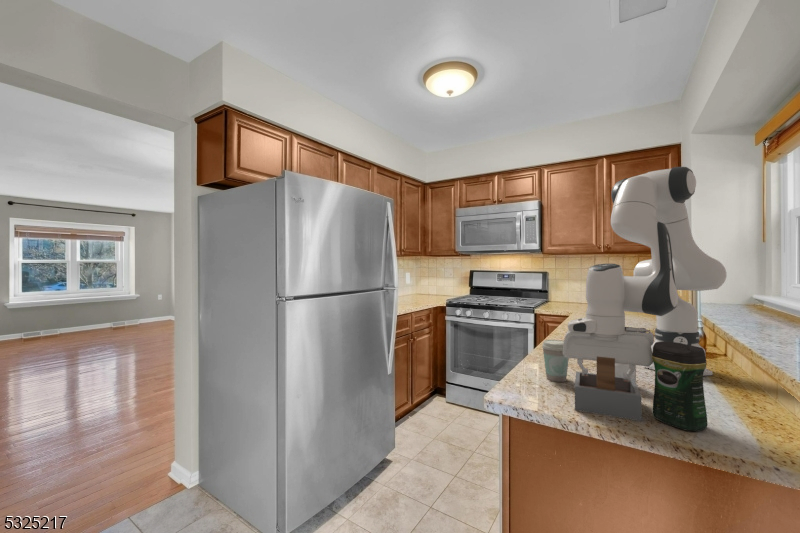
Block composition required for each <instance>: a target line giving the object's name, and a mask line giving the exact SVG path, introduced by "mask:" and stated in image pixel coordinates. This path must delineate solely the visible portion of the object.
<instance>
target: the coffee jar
mask: <svg viewBox="0 0 800 533" xmlns="http://www.w3.org/2000/svg"><path fill="white" fill-rule="evenodd" d="M701 347H702V346H701ZM701 347H696V346H691V345H686V344H682V343H676V342H669V341H664V342H656V343H655V344H654V346H653V352H652V360H653V363H654V366H655V370H654V388H653V389H654V390H653V391H654V392H653V399H652V400H653V401H652V416H653V417H654V418H655V420H658V421H660V422H662V423H664V424H667V425H669V426H672V427H674V428H678V429H681V430H684V431H695V432H701V431H703V430H705V429H706V428H708V415H707V414H708V413H707V408H706V407H707V406H706V400H705V398H706V397H705V390H704V376H703V373H704V370H705V368H706V369H707V363H708V362H707V358H706V357H707V356H706V357H705V355H706V351H705V352H704V350H703V349H704V347H702V348H701Z"/></svg>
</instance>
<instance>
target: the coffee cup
mask: <svg viewBox="0 0 800 533" xmlns="http://www.w3.org/2000/svg"><path fill="white" fill-rule="evenodd" d="M563 344H564V340H560V339H544V340H543V342H542V344H541V345H542V346H541V348H542V352H543V360H544V368H545V376H546V379H547V380H549V381H550V382H555V383H557V382H558V383H562V382H563V383H564V382H566V381H567V375H568V367H569V360H570V358H566V357H565V356H564V355H563Z"/></svg>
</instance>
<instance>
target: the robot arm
mask: <svg viewBox="0 0 800 533" xmlns="http://www.w3.org/2000/svg"><path fill="white" fill-rule="evenodd" d="M696 187H697V179H696V176H695V174H694V171H693V170H692V169H690V168H689V167H687V166H674V167H671V168H666V169H665V168H664V169H658V170H652V171H648V172H645V173H642V174H639V175H635V176H632V177H629V178H628V177H625V178H624V179H620V180H618V181H617V182H616V183H615V184H614V185H613V186H612V188H611V193H610V196H611V197H610V198H611V202H612V204H613V205H612V210H611V216H610V227H611V229H612V231H613V232H614V233H615V234H616V235H617V236H618V237H619V238H622V239H624V240H626V241H628V242H632V243H636V244H639V245H643V246H645V247H647V248H650V253H651V254H650V255H651V258H650V259H645V260H640V261H639V262H638V263H637V264H636V265H635V267H634V268H633V272H632V273H633V275H632V276H631V275H630V276H629V275H624V272H623V267H622V265H620V264H616V263H599V264H598V263H597V264H595V265H591V266H590V267H589V268H588V271H587V275H586V279H585V280H586V283H585V299H586V303H587V304H586V305H587V306H586V311H585V317H582V318H577V319H573V320H569V322H568V323H567V329H568V330H567V331H566V333H565V335H564V339H563V341H564V344H563V355H564V356H565V357H566V358H569V359H576V362H577V365H578V367H580V370H581V372H582V376H588V373H589V368H586V367H585V366H584V360H587V361H596V362H597V357H607V358H615V363H621V364H628V366H629V368H630V369H629V370H628V372H627V373H623V376H624V377H623V380H624V381H627V382H630V381H631V375H632V374H633V372H634V371H635V370H636V371H637V368H636V367H637V366H641V367H643V366H644V367H643V368H645V367H646V368H645V369H648V368H649V369H650V370H654V371H655V366H654V363H653V360H652V352H653V346H654V344H655V343H656V342H664V341H669V342H676V343H682V344H686V345H691V346H696V347H701V348H703V347H702V346H701V345H700V344H699V343H700V338H701V336H700V331H698V311H697V309H696V307H695V306H694V305H693V304H692V303H690V302H688V301H686V300H684V299H682V298H681V297H680V296H679V294H678V291H692V292H693V291H695V292H702V291H704V292H705V291H711V290H717V289H719V288H721V287H722V286H723V285H724V283H726V280H727V270H726V267H725V266H724V264H723V263H722V262H721V261H719V260H718V259H715V258H713V257H712V256H710V255H708V253H705V252H704V251H703V250H702V249H701V248H700V247H699V245H698V244H697V243H696V241H695V240H694V238H693V234H692V231H691V227H690V222H689V214H688V210H687V206H686V203H685V202H686V201H688V200H689V199H690V198H691V197H692V196H693V195H694V194H695V190H696ZM625 312H628V313H629V312H630V313H639V314H640V313H642V314H647V315H653V316H655V318H656V320H655V321H656V327H655V328H654V333H653V332H652V331H650V330H648V329H647V328H644V327H632V326H626V313H625ZM654 339H655V340H654ZM703 350H704V352H705V353H706V349H704V348H703ZM705 357H707V356H706V354H705ZM713 375H714V374H713V371H712V370H709V369H708V368H707V367H706V368H705V370H704V373H703V377H704V376H713Z"/></svg>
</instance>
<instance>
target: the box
mask: <svg viewBox="0 0 800 533" xmlns="http://www.w3.org/2000/svg"><path fill="white" fill-rule="evenodd" d="M574 379H575V380H574V410H575V411H578V412H579V411H580V412H585V413H589V414H590V413H591V414H597V415H604V416H608V417H609V416H610V417H612V418H613V417H614V418H620V419H625V420H632V421H639V422H642V394H641V392H640V389H639V387H638V385H637V381H636V382H635V379H633V378H631V381H630V382H627V381H624V380H623V377H617V376H615V391H613V390H606V389H599V388H597V373H591V372H588V376H582V371H576V372H575V378H574Z"/></svg>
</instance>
